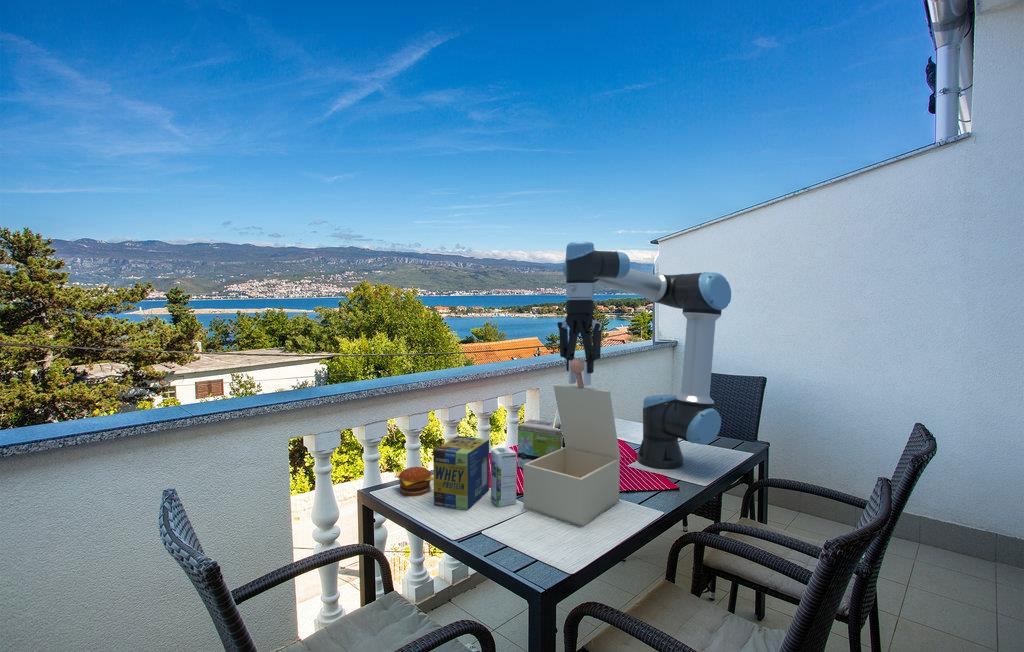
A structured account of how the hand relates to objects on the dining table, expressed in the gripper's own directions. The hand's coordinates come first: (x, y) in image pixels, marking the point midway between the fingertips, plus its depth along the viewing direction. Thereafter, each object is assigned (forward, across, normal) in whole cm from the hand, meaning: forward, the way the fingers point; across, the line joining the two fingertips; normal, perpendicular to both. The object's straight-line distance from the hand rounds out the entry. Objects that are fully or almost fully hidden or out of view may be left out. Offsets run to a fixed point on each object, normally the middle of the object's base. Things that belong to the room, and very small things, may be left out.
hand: (579, 384), depth 135 cm
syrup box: (+33, -16, -14) cm, 39 cm away
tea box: (+33, -24, +16) cm, 44 cm away
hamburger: (+33, -42, -24) cm, 59 cm away
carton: (+33, 0, -4) cm, 33 cm away
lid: (+7, 0, +1) cm, 7 cm away
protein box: (+33, -27, -19) cm, 47 cm away
